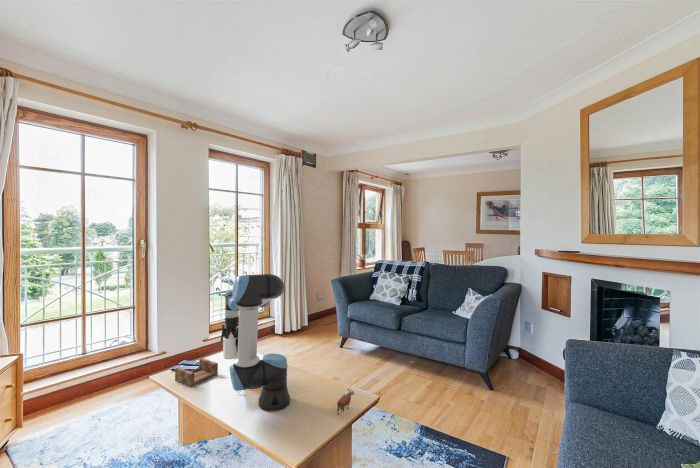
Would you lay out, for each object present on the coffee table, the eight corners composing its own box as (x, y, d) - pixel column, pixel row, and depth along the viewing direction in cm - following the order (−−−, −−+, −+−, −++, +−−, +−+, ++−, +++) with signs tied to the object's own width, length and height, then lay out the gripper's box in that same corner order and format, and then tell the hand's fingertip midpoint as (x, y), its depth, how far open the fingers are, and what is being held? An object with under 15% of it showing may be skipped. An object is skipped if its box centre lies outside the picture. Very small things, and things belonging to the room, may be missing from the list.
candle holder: (223, 354, 190) (223, 334, 190) (240, 353, 193) (240, 333, 193) (221, 360, 181) (222, 339, 181) (240, 359, 184) (240, 338, 184)
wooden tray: (217, 375, 186) (217, 363, 186) (190, 387, 172) (190, 374, 172) (202, 369, 193) (202, 358, 193) (175, 380, 178) (175, 368, 178)
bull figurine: (356, 404, 158) (356, 388, 158) (341, 418, 146) (342, 400, 146) (348, 402, 160) (348, 385, 160) (333, 415, 148) (334, 397, 148)
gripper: (250, 317, 185) (249, 356, 185) (224, 313, 196) (224, 349, 195) (239, 320, 179) (239, 360, 178) (214, 315, 189) (213, 353, 189)
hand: (231, 355), depth 187 cm, fingers closed on candle holder, 9 cm apart
